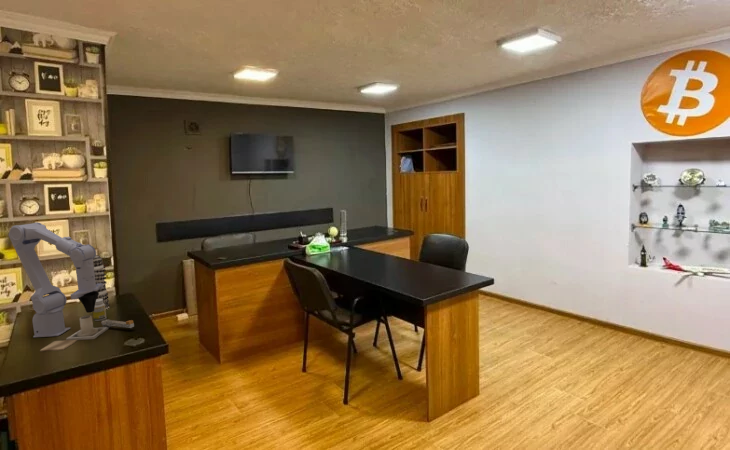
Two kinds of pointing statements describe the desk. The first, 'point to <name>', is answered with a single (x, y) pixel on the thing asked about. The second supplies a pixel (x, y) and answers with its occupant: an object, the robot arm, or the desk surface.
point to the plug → (86, 327)
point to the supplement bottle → (99, 310)
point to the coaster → (58, 345)
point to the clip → (118, 323)
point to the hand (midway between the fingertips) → (90, 311)
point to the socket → (87, 336)
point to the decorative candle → (100, 279)
